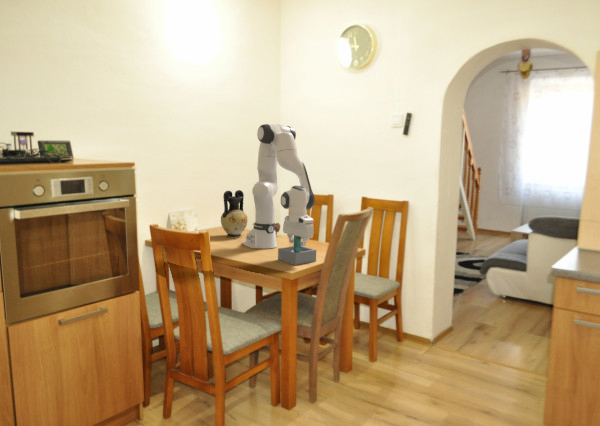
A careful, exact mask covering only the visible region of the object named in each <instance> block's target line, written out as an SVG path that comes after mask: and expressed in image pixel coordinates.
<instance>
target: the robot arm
mask: <svg viewBox="0 0 600 426" xmlns="http://www.w3.org/2000/svg"><path fill="white" fill-rule="evenodd" d="M256 134H257V139H258V141H259V142H260V143H259V146H258V156H257V169H256V170H257V173H258V181H257V182H256V183H255V184H254V185H253V187H252V190H251V191H252V193H251V194H252V195H253V202H254V208H255V210H254V211H255V217H254V218H255V219H254V220H255V222H253V223H252V226H253V228H252V229H251V230H250V231H249V232H248V233H247V234H246V236H245V240H244V241H242V242H241V244H242V245H244V246H246V247H247V248H250V249H265V250H266V249H275V248H277V246H278V242H277V237H276V236H277V235H276V232H275V230H274V229H275V224H276V222H275V212H276V211H275V205H274V201H273V197H274V196H276V195H277V193H278V190H279V189H278V188H279V187H278V175H277V173H278V171H277V169H278V168H277V167H278V165H279V166H280V167H281V168H282V169H284V170H287V171H289V172H290V173H291V172H292V173H293V174H294V175H296V176H297V177H298V180H299V184H300V185H293V186H291V187H290V189H289V190H287V191H284V192H283V193H282V194H281V196H280V205H281V207H283V209H286V210H289V215H286V216H285V217H284V220H283V227H282V232H283V234H287V238H288V241H289V242H288V243H290V244H294V235H295V236H299V237H302V241H301V246H303V247H307V245H306V244H307V241H308V240H309V239H312V238H313V237H314V224H313V223H314V218H312V217H311V216H310V215H308V214H307V213H308V211H307V210H311V209H312V208H313V206H315V203H316V197H315V194H314V192H313V189H312V186H311V182H310V178H309V175H308V172H307V169H306V165H305V163H304V162H303V161H302V160H301V159H300V158H299V155H298V149H297V144H296V138H297V132H296V129H294V128H293V127H292V126H289V125H284V124H283V125H282V124H269V123H264V124H261V125H260V126H259V127H258V129H257V133H256Z"/></svg>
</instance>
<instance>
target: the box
mask: <svg viewBox="0 0 600 426" xmlns="http://www.w3.org/2000/svg"><path fill="white" fill-rule="evenodd" d="M293 249H294V245H292V246H286V247H279V248H277V251H278V252H277V260H278V261H281V262H283V263H288V264H291V265H294V266H297V265H298V266H299V265H305V264H308V263H313V262H317V249H316V248H311V247H308V246H301V252H297V253H296V252H293Z"/></svg>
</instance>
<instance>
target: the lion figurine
mask: <svg viewBox="0 0 600 426" xmlns="http://www.w3.org/2000/svg"><path fill="white" fill-rule="evenodd" d="M280 229H281V224H280V223H279V222H275V229H274V230H275V232H276V238H278V233H279V232H280Z"/></svg>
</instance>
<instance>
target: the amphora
mask: <svg viewBox="0 0 600 426" xmlns="http://www.w3.org/2000/svg"><path fill="white" fill-rule="evenodd" d="M244 196H245V195H244V192H243V191H242V190H240V189H239V190H236V191H235V192H234V196H233V192H232V191H231V190H226V191H225V192H224V193H223V207H224V211H223V213H221V216H220V224H221V226H222V229H223V231H224V232H225V233H226V234H227V236H226V237H227V238H233V239H236V238H237V239H239V238H242V236H243V235H242V233H243V232H244V231H245V229H246V228H247V225H248V222H249V221H248V215H247V214H246V212H245V211H244V200H245V199H244Z"/></svg>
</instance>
